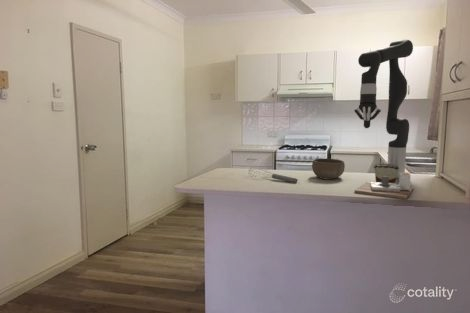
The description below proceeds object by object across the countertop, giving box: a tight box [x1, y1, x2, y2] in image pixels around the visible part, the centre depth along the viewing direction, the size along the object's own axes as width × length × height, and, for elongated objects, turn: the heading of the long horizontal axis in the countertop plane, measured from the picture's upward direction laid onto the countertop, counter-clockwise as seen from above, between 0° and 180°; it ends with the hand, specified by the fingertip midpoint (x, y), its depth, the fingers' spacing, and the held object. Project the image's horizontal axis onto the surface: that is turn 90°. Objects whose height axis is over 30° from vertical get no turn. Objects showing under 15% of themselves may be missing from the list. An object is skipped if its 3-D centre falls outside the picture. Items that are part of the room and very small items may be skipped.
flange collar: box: [369, 172, 411, 192], centre depth 168 cm, size 16×12×8 cm
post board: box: [354, 176, 415, 199], centre depth 169 cm, size 22×22×7 cm
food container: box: [373, 163, 399, 183], centre depth 187 cm, size 12×6×10 cm, turn 59°
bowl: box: [311, 158, 346, 180], centre depth 203 cm, size 17×18×10 cm
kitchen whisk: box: [248, 166, 299, 184], centre depth 198 cm, size 6×34×6 cm, turn 50°
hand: (366, 128), depth 181 cm, fingers closed
